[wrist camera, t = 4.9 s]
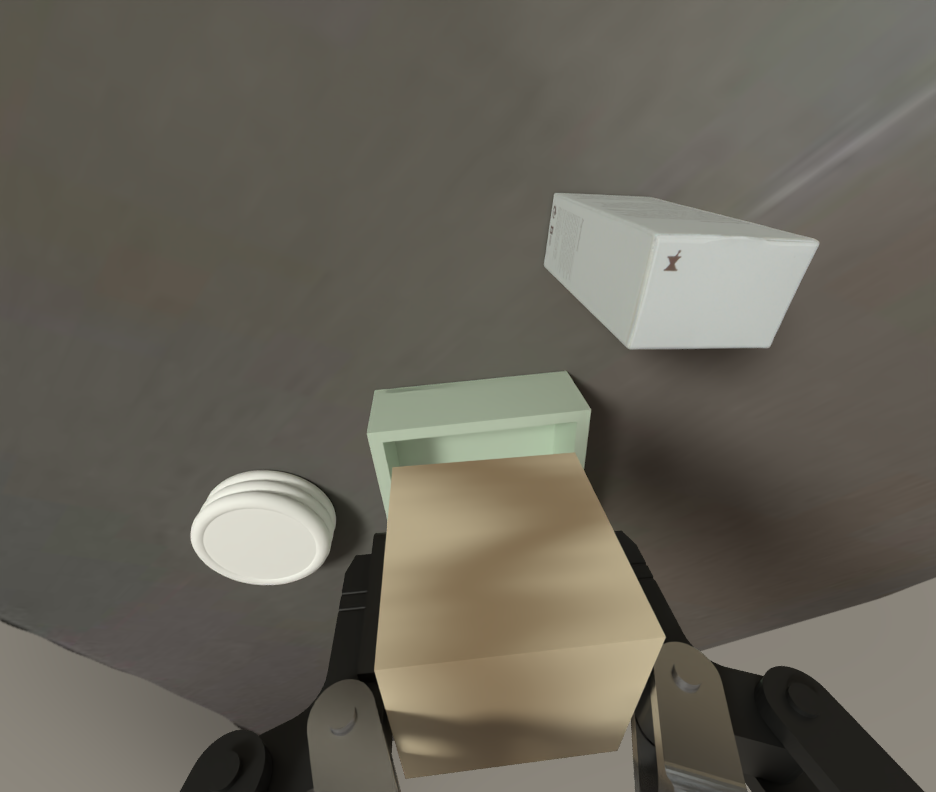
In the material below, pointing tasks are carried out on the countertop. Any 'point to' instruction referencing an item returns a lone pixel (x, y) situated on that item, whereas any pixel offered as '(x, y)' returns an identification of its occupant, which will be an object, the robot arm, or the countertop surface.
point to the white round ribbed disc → (264, 528)
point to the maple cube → (507, 617)
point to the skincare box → (674, 271)
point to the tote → (476, 422)
